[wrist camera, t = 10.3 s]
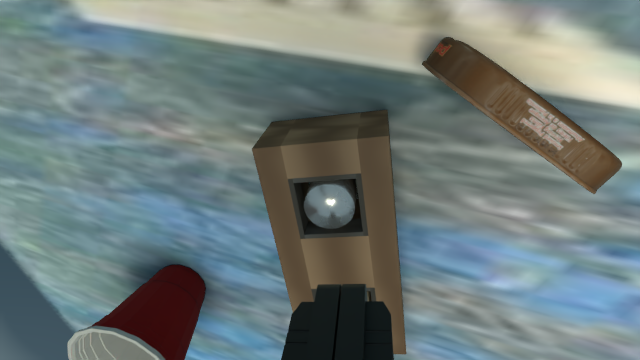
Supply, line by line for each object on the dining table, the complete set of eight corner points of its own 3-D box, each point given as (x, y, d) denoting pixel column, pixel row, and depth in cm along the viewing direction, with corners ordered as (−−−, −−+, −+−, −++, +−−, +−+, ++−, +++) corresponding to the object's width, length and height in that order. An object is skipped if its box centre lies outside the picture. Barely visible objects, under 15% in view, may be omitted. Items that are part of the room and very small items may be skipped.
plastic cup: (130, 237, 43) (47, 323, 32) (225, 254, 42) (172, 348, 31) (141, 308, 48) (73, 401, 37) (225, 324, 47) (180, 425, 37)
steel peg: (317, 196, 36) (308, 230, 32) (311, 157, 35) (299, 186, 30) (360, 193, 36) (357, 227, 31) (355, 153, 34) (351, 183, 29)
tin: (414, 57, 30) (425, 83, 23) (442, 21, 29) (464, 36, 21) (556, 163, 32) (609, 219, 25) (589, 135, 31) (655, 185, 24)
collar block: (312, 307, 44) (303, 352, 38) (271, 122, 34) (251, 148, 29) (403, 306, 42) (406, 354, 37) (387, 109, 32) (388, 136, 27)
